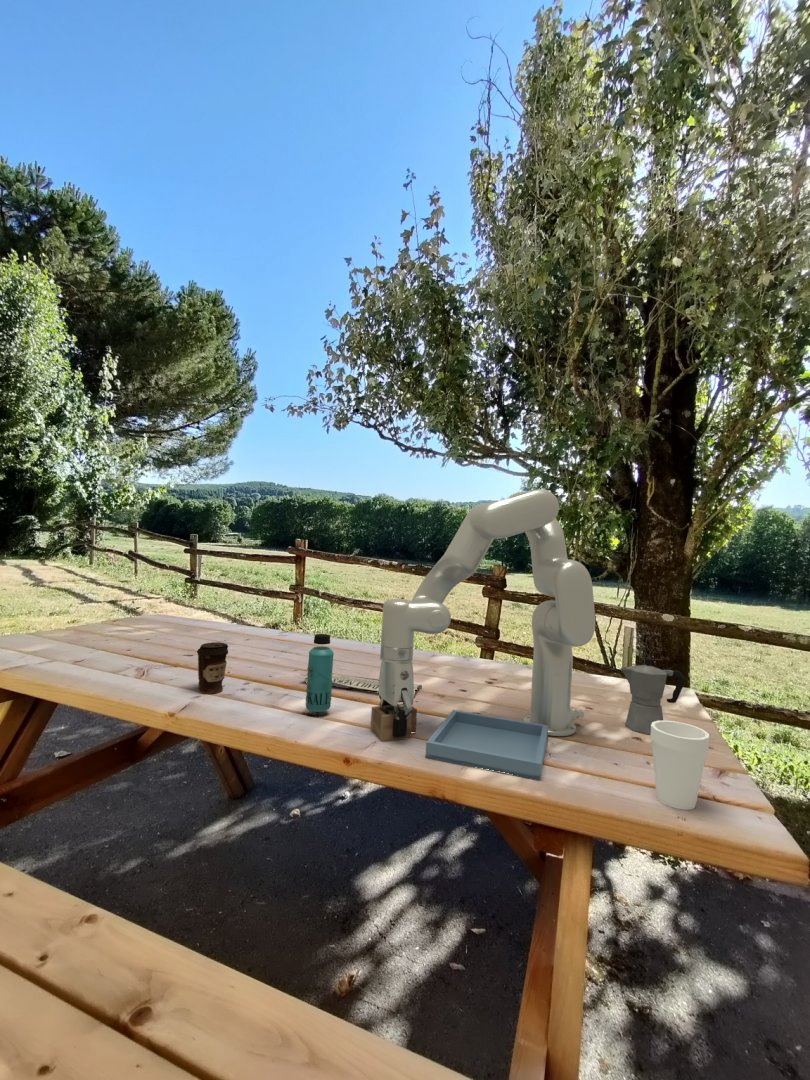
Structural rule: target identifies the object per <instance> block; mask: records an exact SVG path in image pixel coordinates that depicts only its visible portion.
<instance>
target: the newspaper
mask: <svg viewBox="0 0 810 1080" xmlns="http://www.w3.org/2000/svg"><path fill="white" fill-rule="evenodd" d="M307 674H308V673H306V674H303V673H300V675H301V676H303V677H305V678H304V682H307V678H308V676H307ZM332 686H336V687H335V688H338V687H342V688H341V689H346V688H348V689H347V690H353V689H355V690H354V691H360V690H362V691H363V692H367V691H370V693H375V692H378V693H377V694H379V688H378V687H379V678H378V679H376V678H369V677H360V676H353V675H347V674H340V673H333V672H332ZM416 688H417V689H420V690H422V689H423V686H422V684H418V683H417V684H416V683H414V696H415V694H416V691H415V690H416ZM362 691H361V692H362Z"/></svg>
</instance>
